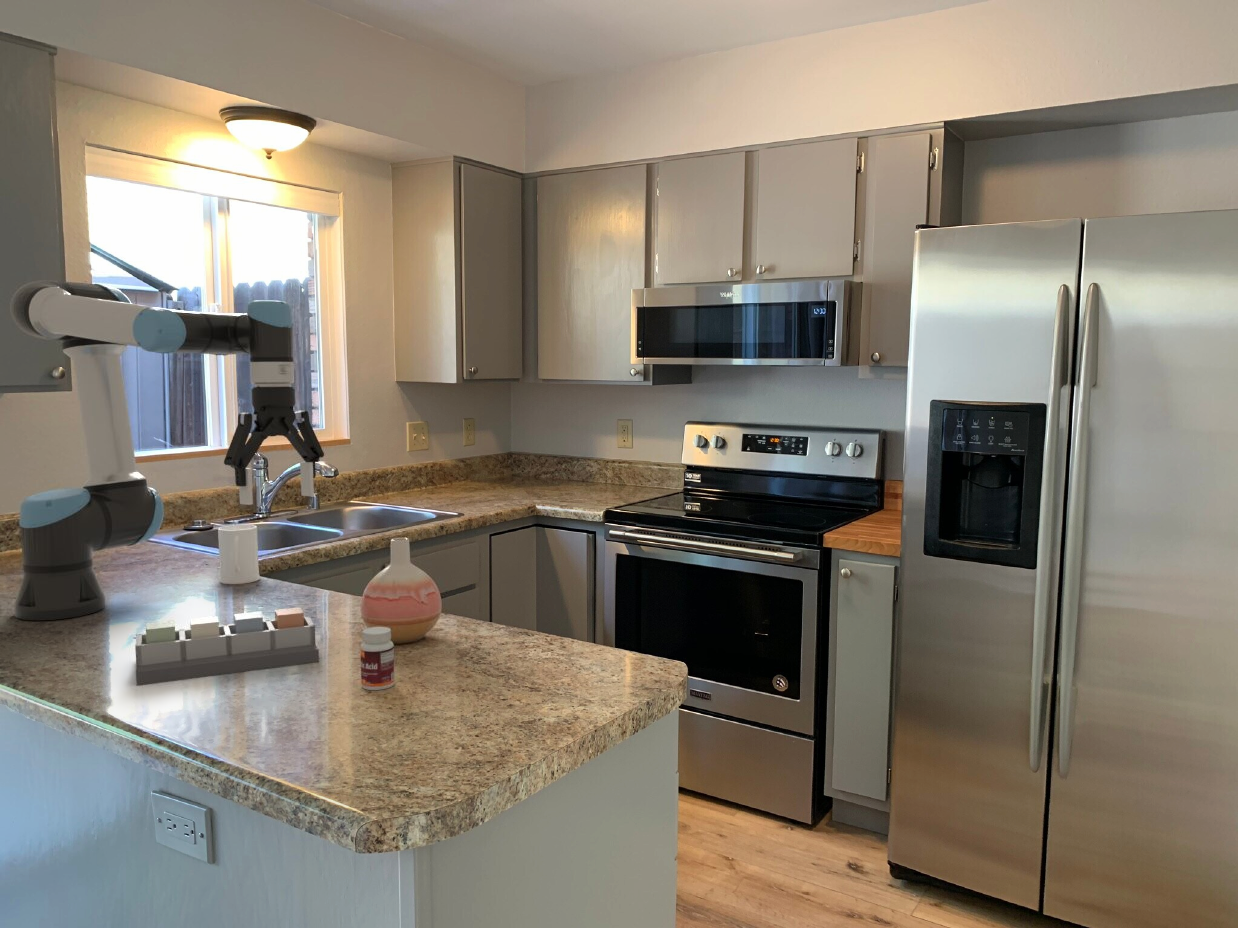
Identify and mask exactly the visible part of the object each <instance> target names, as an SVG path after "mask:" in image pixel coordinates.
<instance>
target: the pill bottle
mask: <svg viewBox="0 0 1238 928" xmlns="http://www.w3.org/2000/svg"><path fill="white" fill-rule="evenodd" d="M390 639H391V629H390V628H387V627H371V628H367V627H366V628H365V629H363V631H362V641H363V642H362V643H361V645H360V647H359V648H360V649H359V651H360V683H361V685H360V686H361V687H362V688H363V689H365V690H367V691H382V690H387V689H389V688H391V687H394V685H395V644H393V642H392V641H390Z"/></svg>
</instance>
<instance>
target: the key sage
mask: <svg viewBox="0 0 1238 928" xmlns="http://www.w3.org/2000/svg"><path fill="white" fill-rule="evenodd" d="M175 623H176V622H175V620H168V621H167V620H166V621H159V622H149V623H146V624H145V634H146V641H147V644H151V643H160V642H168V641H176V639H175V630H176V624H175Z"/></svg>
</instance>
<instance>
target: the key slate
mask: <svg viewBox="0 0 1238 928" xmlns="http://www.w3.org/2000/svg"><path fill="white" fill-rule="evenodd" d="M233 621H234V623H233V624H234V626H235V634H239V633H248V632H257V631H263V621H264V617H263V614H262V613H261V611H253V612H244V613H235V614H234V615H233Z"/></svg>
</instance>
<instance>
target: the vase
mask: <svg viewBox="0 0 1238 928" xmlns="http://www.w3.org/2000/svg"><path fill="white" fill-rule="evenodd" d="M410 551H411V550H410V539H409V538H408V537H394V538H391V539H390V564H388V565H387V566H386V567H384V568H383V569H382V570H381V571H379V572H378V573H377V574H376V575H374V577H373V578H371V580H370V581H369V583H368V584H367V585H366V586H365V589H364V590H363V594H362V597H361V602H360V614H361V615H360V616H361V619H362V622H363V624H364V626H365V628H366V629H367V628H371V627H387V628H390V629H391V639H390V641H392V642H393V644H394V645H396V644H398V645H401V644H410V643H413V642H417V641H419V640H421V639H423V638H424V637H425V636H426V635H427V634H428V633H429V632H431V630H433V628H434V627H435V626H436V624H437V623H438V622H439V619H440V617H441V614H442V605H443V604H442V598H441V596H442V595H441V593H440V591H439V588H438V586H437V584H436V583H435V581H434V580H433V579H432V577H431V576H429V575H428V573H426V572H425V571H424V570H422V569H420V568H419V567H417V566H416V565H414V564H413V563H412V562H411V553H410Z"/></svg>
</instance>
